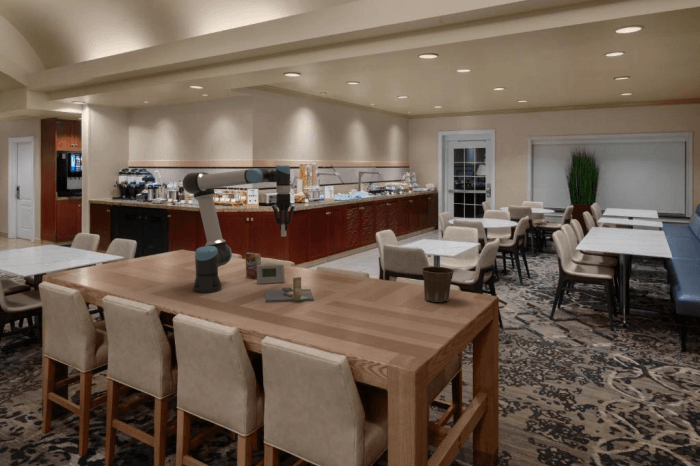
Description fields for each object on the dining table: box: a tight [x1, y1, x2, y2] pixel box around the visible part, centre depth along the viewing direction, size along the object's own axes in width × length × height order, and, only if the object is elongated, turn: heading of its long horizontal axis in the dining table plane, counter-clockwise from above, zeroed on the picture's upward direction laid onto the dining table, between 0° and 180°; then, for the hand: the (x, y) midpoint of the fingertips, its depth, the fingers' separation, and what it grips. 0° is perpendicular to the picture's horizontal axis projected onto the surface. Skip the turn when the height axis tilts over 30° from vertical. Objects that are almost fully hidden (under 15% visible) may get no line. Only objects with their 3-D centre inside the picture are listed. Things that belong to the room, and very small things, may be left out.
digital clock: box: [256, 263, 286, 285], centre depth 289 cm, size 16×9×11 cm, turn 94°
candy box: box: [245, 252, 262, 280], centre depth 300 cm, size 9×4×15 cm, turn 61°
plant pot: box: [421, 266, 455, 303], centre depth 253 cm, size 16×16×16 cm
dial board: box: [265, 288, 314, 303], centre depth 258 cm, size 24×23×3 cm
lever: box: [281, 276, 302, 299], centre depth 254 cm, size 15×5×11 cm, turn 35°
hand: (283, 236), depth 273 cm, fingers closed
